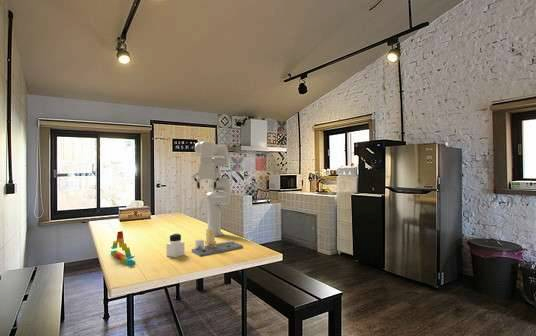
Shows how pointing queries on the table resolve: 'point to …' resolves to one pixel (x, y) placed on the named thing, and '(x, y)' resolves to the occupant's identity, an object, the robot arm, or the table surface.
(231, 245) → the bolt plate
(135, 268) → the table surface
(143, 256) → the table surface
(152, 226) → the table surface
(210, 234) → the brass slider
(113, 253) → the multicolored stepped triangle frame
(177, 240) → the medicine bottle
